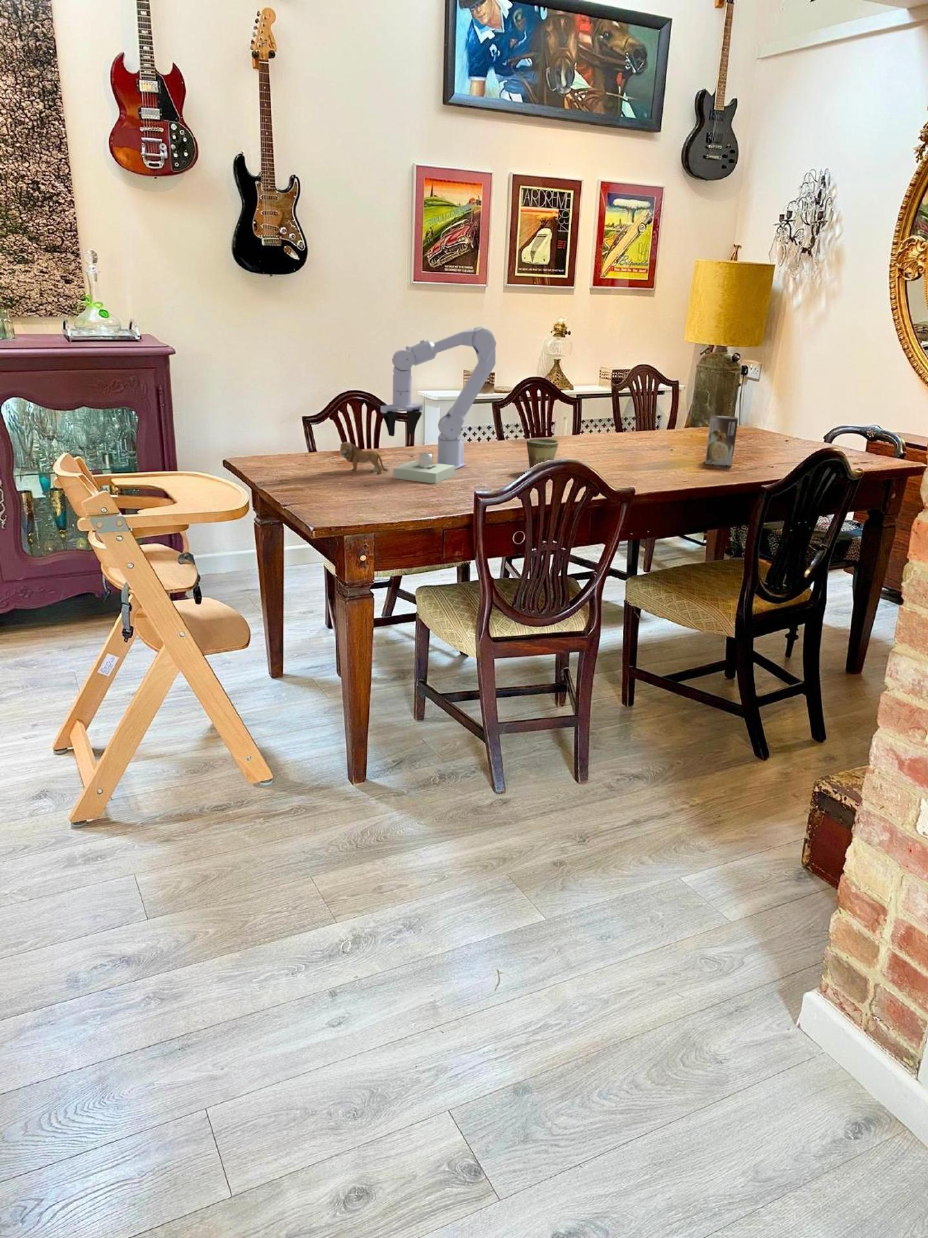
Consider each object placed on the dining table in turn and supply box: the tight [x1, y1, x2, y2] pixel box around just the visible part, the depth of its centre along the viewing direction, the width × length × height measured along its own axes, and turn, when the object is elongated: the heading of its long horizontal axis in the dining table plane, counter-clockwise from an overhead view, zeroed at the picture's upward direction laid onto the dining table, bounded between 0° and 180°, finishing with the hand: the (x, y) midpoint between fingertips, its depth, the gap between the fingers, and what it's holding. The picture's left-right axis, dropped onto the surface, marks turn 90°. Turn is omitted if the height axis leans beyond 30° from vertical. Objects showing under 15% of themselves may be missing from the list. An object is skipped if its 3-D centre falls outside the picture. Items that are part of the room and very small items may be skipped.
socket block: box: [392, 460, 456, 484], centre depth 264 cm, size 14×14×3 cm
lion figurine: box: [339, 441, 389, 475], centre depth 266 cm, size 15×5×9 cm, turn 89°
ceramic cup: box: [526, 437, 559, 469], centre depth 277 cm, size 13×10×10 cm
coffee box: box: [704, 414, 739, 467], centre depth 302 cm, size 9×6×16 cm
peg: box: [418, 452, 434, 469], centre depth 263 cm, size 4×4×7 cm
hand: (401, 434), depth 274 cm, fingers open, 7 cm apart
